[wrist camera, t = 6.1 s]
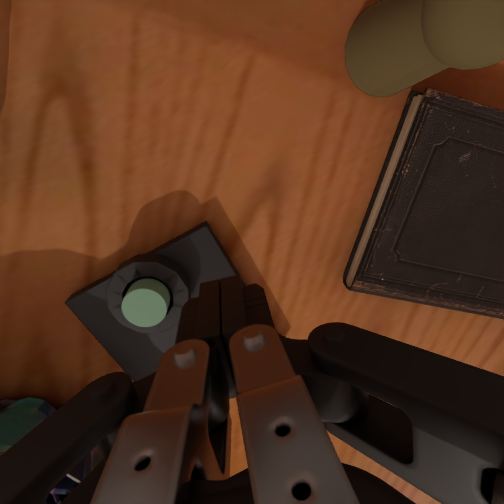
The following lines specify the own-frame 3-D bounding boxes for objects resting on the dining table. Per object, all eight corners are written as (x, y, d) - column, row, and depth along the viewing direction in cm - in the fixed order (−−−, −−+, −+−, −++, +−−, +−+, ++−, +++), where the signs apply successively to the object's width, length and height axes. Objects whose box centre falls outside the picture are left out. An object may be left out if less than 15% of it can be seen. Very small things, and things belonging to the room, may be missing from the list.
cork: (389, -24, 22) (543, -161, 12) (443, 45, 24) (618, -20, 13) (327, 55, 23) (415, -6, 13) (382, 115, 25) (499, 104, 15)
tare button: (118, 290, 25) (111, 301, 23) (154, 270, 25) (150, 280, 23) (143, 321, 26) (138, 334, 24) (178, 303, 26) (175, 314, 24)
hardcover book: (410, 90, 24) (428, 86, 22) (644, 164, 28) (679, 166, 26) (340, 281, 29) (350, 293, 27) (547, 321, 33) (570, 334, 31)
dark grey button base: (66, 289, 27) (49, 307, 24) (203, 214, 26) (201, 224, 23) (164, 403, 32) (159, 429, 29) (281, 344, 31) (288, 365, 28)
